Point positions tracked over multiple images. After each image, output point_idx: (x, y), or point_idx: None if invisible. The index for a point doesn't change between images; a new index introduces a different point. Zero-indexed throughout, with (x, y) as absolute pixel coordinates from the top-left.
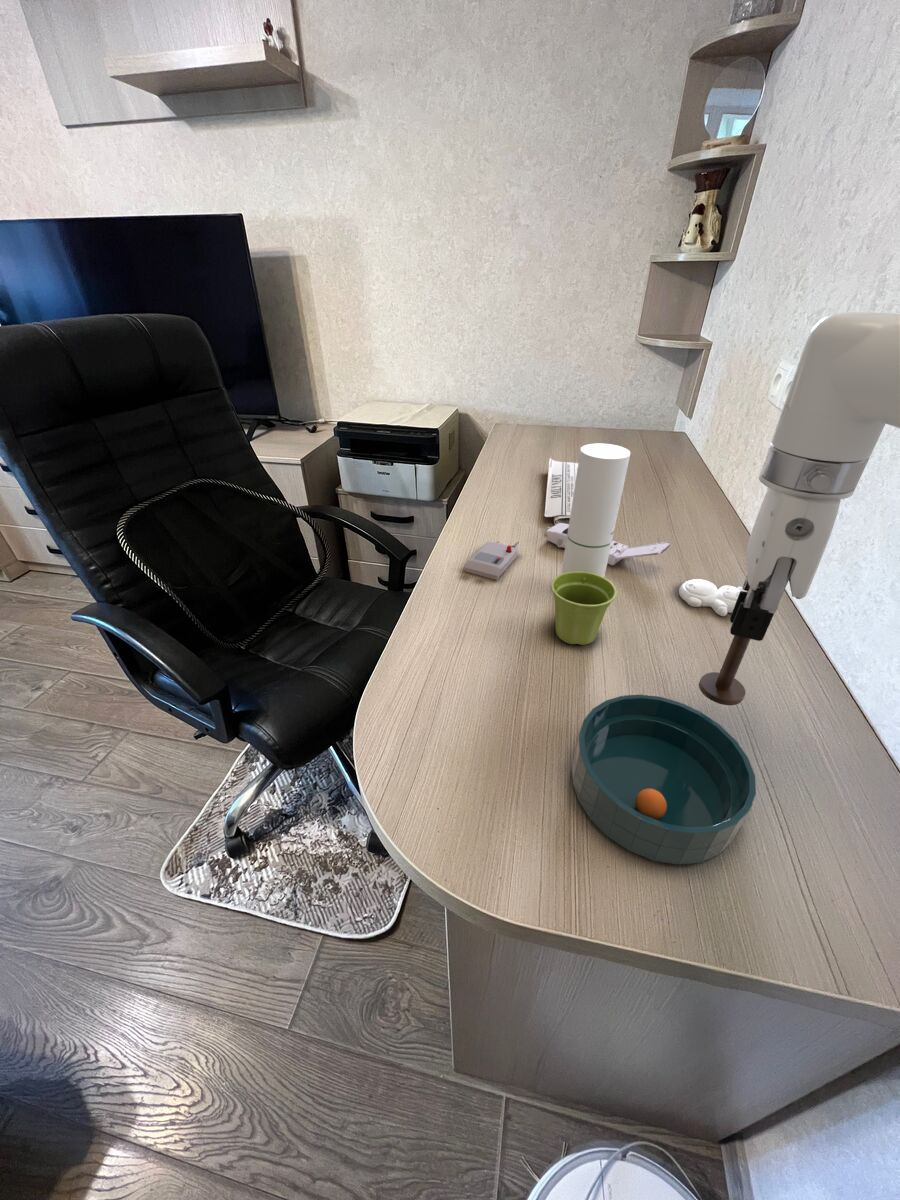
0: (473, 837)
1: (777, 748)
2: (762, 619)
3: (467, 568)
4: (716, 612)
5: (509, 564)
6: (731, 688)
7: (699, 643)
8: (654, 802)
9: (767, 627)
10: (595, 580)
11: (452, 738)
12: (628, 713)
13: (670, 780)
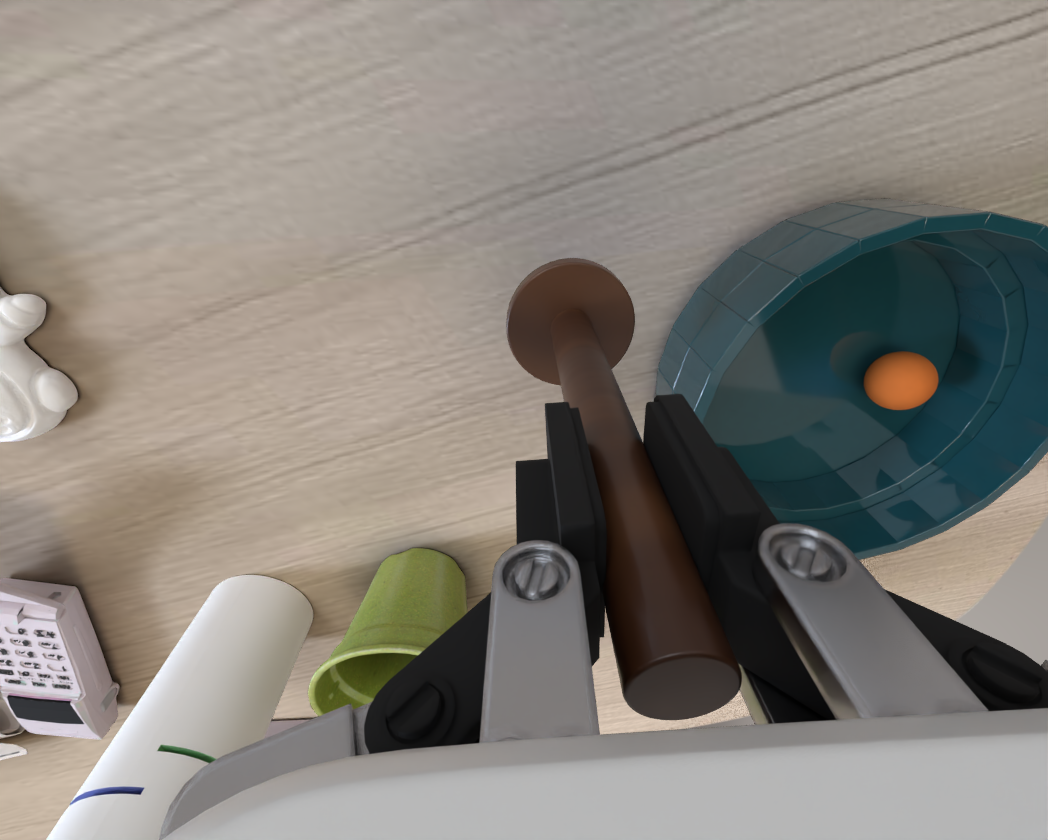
0: (945, 555)
1: (582, 99)
2: (766, 515)
3: None
4: (42, 321)
5: (279, 722)
6: (571, 303)
7: (250, 345)
8: (934, 389)
9: (706, 435)
10: (322, 681)
11: None
12: None
13: (791, 344)
